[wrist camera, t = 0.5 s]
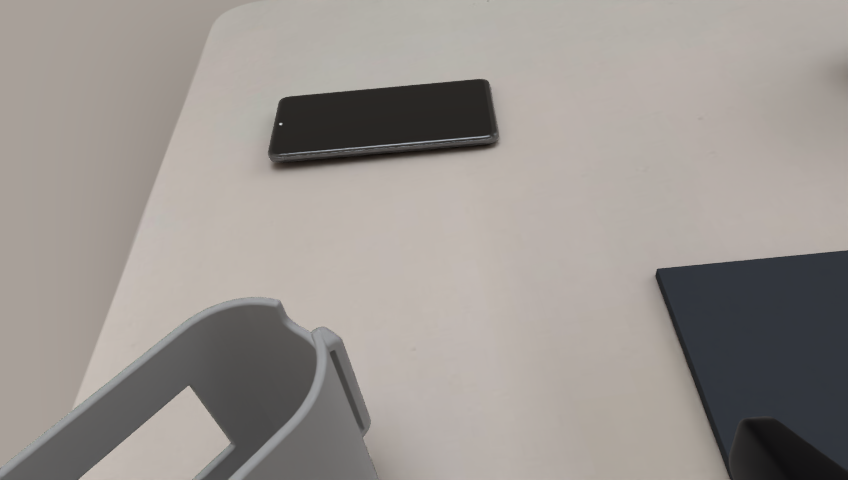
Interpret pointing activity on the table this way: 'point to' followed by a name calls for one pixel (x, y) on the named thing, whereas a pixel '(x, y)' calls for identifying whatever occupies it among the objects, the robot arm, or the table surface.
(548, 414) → the table surface
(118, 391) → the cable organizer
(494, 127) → the smartphone
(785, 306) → the mat
